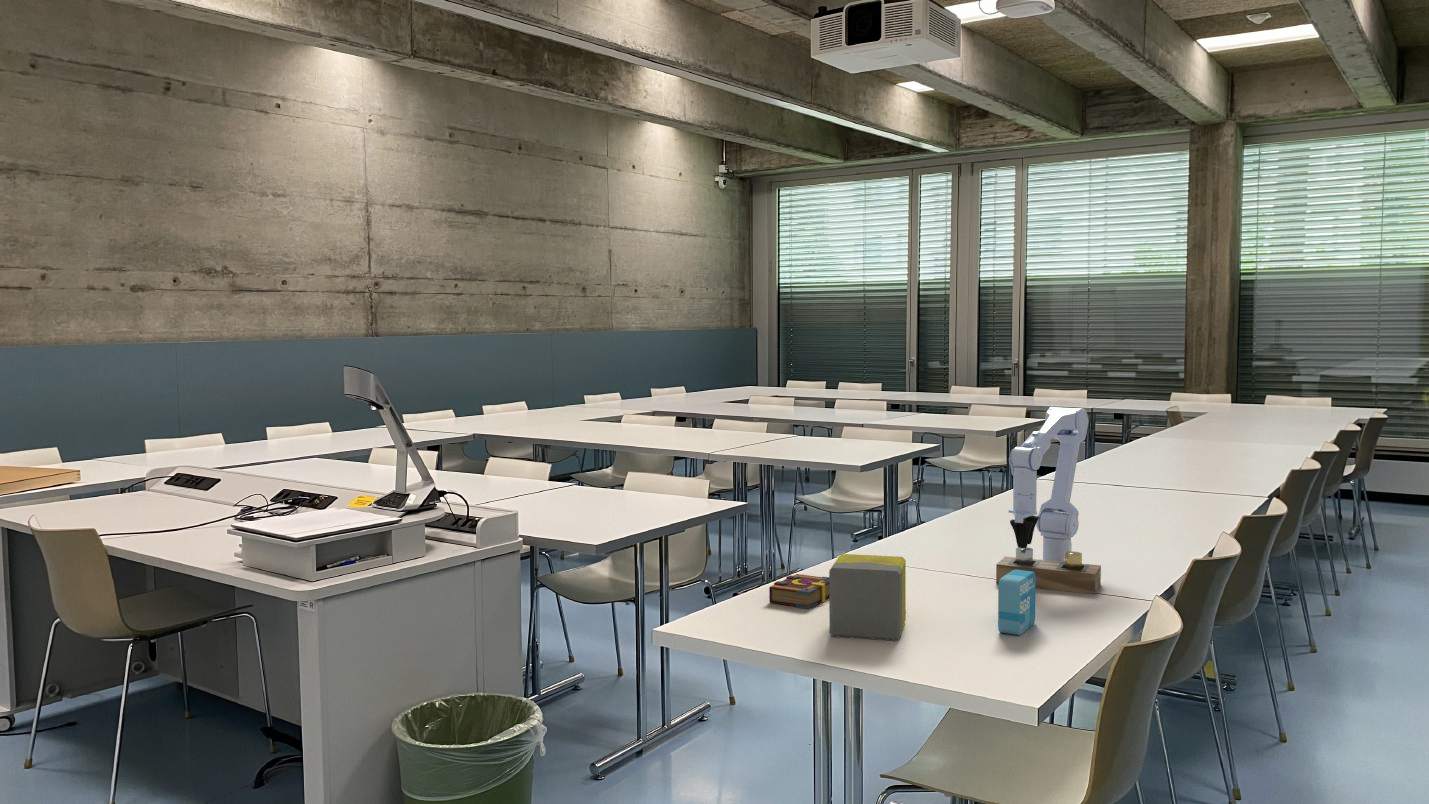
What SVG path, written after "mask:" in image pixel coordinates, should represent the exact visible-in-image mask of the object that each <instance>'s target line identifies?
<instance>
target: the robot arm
mask: <svg viewBox="0 0 1429 804" xmlns="http://www.w3.org/2000/svg"><path fill="white" fill-rule="evenodd" d="M1044 418H1045V422H1044V423H1043V424H1042V426H1041V428H1040V429H1039V430H1037V431H1032V432H1031V434H1030V435H1029V436H1027V438H1026V440H1025V441H1024V442H1023V443H1022V444H1021V445H1020V446H1015V447H1014V448H1013V449H1011V451H1010V453H1009V458H1008V463H1009V466H1010V471H1011V472H1010V473H1011V475H1012V476H1013V478H1012V480H1013V482H1012V484H1013V487H1012V488H1013V489H1012V490H1013V494H1012V495H1013V496H1012V497H1013V498H1012V499H1013V502H1012V506H1013V507H1012V508H1008V513H1010V514H1012V515H1013V517H1014V519H1010V521H1009V522H1010V527H1011V528H1012V529H1013V532H1014V536H1015V540H1016V545H1017V548H1027V547H1028V545H1031V544H1032V541H1033V535H1034V531H1035V528H1036V529H1037V531H1038V533H1040V536H1042V560H1048V561H1059V562H1064V552H1068V551H1072V549H1073V548H1072V545H1073V544H1072V538H1074V536H1075V535H1076V534H1077V532H1078V530H1079V524H1080V523H1079V514H1080V513H1079V511H1078V509H1077V508H1076V507H1075V505H1074V504H1072V503H1071V498H1072V491H1073V486H1074V480H1075V479H1074V478H1075V473H1076V468H1077V465H1078V464H1077V463H1078V457H1079V450H1080V445H1081V442H1084V441H1086V437H1087V433H1088V426H1089V422H1090V421H1089V416H1088V412H1087V411H1086V409H1085V408H1083V407H1080V408H1078V407H1076V408H1075V407H1073V408H1072V407H1055V406H1050V407H1049V408H1048V409H1047V410H1046V413H1045V417H1044ZM1052 439H1055V440H1057V441H1059V443H1060V444H1059V445H1060V446H1059V450H1058V456H1057V462H1056V468H1055V471H1054V472H1055V474H1054V479H1053V484H1052V490H1051V495H1050V499H1048V500H1046V501H1045V502H1043V503H1042V504H1041V505H1040V509H1039V511H1037V490H1038V489H1037V481H1038V480H1037V479H1038V478H1037V476H1038V475H1037V472H1038V471H1037V470H1039V469H1040V467H1041V465H1042V460H1043V458H1044V455H1045V454H1046V452H1047V451H1048V450H1049V449H1050V447H1051V445H1052V441H1051V440H1052Z"/></svg>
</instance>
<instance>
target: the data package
mask: <svg viewBox="0 0 1429 804" xmlns="http://www.w3.org/2000/svg"><path fill="white" fill-rule="evenodd" d="M997 589H998V591H997V593H998V596H997V598H998V600H997V601H998V605H997V606H998V607H997V609H998V610H997V628H998V632H999V633H1002V634H1008V635H1014V636H1021V635H1022V634H1023V633H1025V632H1026V631H1028V630H1029V628H1031V627H1032V626H1033V625H1034V624H1035V621H1036V589H1037V588H1036V576H1035V573H1034V572H1032V571H1023V570H1013V571H1011V572H1010V573H1008V574H1007V575H1005V576H1003V577H1002V578H1001V579H1000V580H999V584H998V588H997Z"/></svg>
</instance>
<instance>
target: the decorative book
mask: <svg viewBox="0 0 1429 804" xmlns="http://www.w3.org/2000/svg"><path fill="white" fill-rule="evenodd" d="M768 590H769V592H768V594H769V596H768V597H769V603H771V604H778V605H785V606H791V607H795V608H800V609H806V610H812V609H814V608H815V607H817V605H818V604H822V603H824V602H826V600H827V599H829V577H828V576H816V575H814V576H813V575H809V574H808V575H806V574H799V573H796V574H794V575H788V576H786V578H785V579H783V580H781V581H779V580H778V581H775V582H773V584H772V585H771V586H769V589H768Z"/></svg>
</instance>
